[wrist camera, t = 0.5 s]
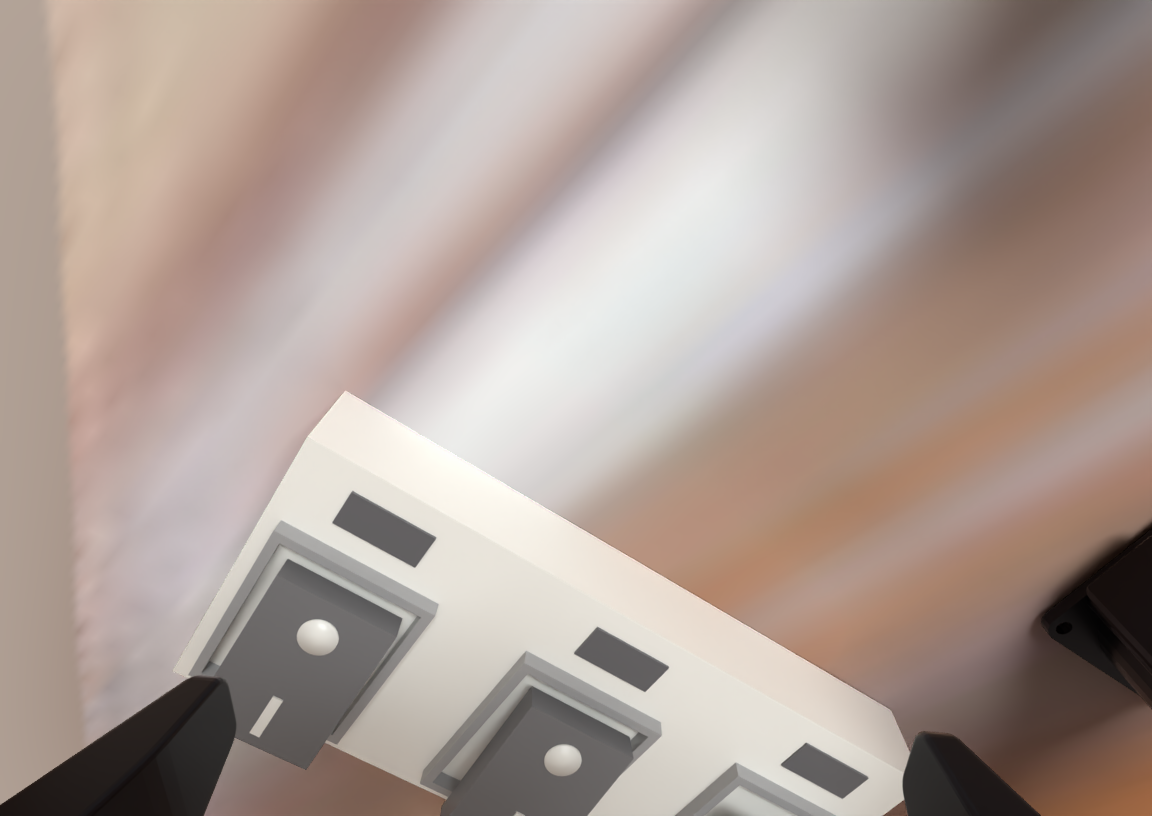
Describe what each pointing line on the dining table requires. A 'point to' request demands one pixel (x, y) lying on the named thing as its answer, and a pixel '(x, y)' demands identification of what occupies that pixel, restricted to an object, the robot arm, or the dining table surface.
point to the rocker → (303, 662)
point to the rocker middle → (542, 764)
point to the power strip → (545, 640)
